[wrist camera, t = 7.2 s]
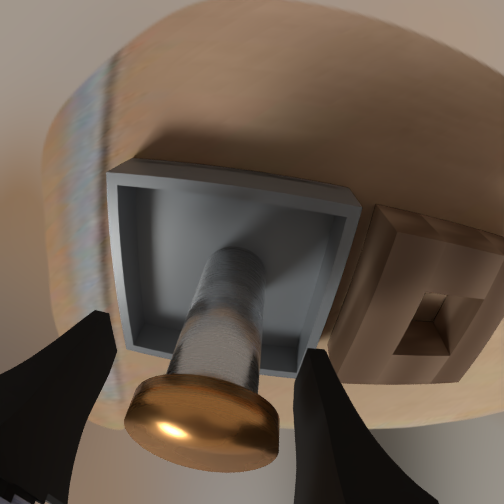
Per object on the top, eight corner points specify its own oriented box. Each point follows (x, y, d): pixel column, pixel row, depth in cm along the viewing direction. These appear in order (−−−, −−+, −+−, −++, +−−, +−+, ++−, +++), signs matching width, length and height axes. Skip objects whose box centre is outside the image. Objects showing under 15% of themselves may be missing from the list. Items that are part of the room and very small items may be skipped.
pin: (288, 240, 14) (296, 421, 6) (272, 314, 16) (264, 478, 8) (192, 226, 14) (109, 387, 6) (190, 301, 16) (137, 455, 8)
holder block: (503, 237, 14) (531, 263, 11) (444, 350, 18) (458, 382, 15) (376, 204, 14) (397, 231, 11) (327, 344, 18) (332, 382, 15)
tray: (348, 187, 13) (362, 207, 11) (301, 347, 18) (303, 379, 16) (131, 158, 13) (106, 172, 11) (140, 321, 18) (126, 349, 16)
